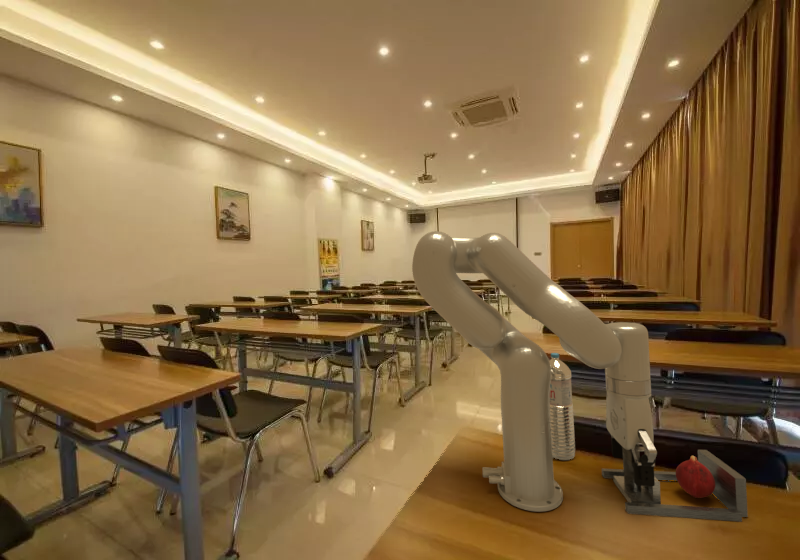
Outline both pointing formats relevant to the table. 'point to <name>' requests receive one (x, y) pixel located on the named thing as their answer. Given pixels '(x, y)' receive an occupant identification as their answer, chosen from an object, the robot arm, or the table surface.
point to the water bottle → (561, 410)
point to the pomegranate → (695, 478)
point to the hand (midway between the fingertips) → (631, 470)
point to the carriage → (630, 488)
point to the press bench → (726, 490)
